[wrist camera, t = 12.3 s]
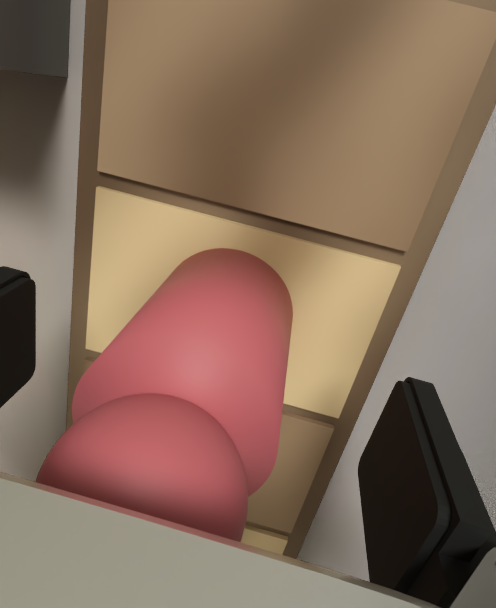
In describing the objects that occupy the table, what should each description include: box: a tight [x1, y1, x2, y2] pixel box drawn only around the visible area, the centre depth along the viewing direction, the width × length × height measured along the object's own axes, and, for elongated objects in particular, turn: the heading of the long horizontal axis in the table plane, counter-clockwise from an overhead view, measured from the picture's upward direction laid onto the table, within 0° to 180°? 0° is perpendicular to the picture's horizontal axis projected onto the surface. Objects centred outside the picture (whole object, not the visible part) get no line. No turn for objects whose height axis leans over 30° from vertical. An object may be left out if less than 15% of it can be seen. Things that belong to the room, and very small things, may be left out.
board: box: [66, 0, 496, 559], centre depth 16 cm, size 11×27×1 cm, turn 167°
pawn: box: [36, 248, 293, 542], centre depth 10 cm, size 4×4×9 cm
